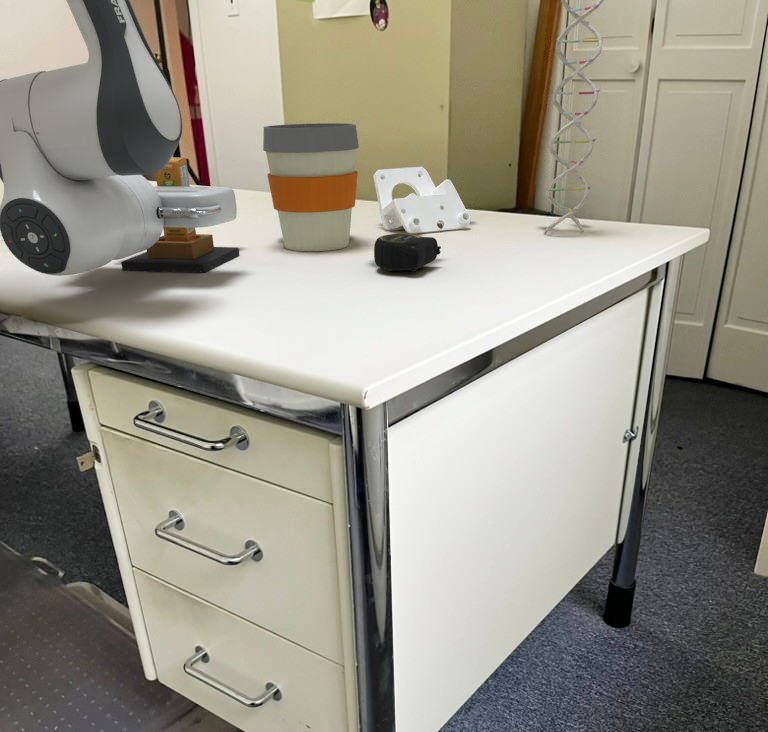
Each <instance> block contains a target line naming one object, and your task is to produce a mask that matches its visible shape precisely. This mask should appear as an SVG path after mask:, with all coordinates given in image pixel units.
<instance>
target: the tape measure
mask: <svg viewBox="0 0 768 732" xmlns="http://www.w3.org/2000/svg"><path fill="white" fill-rule="evenodd" d="M438 245H439V244H438V240H437V239H436V238H435V237H432V236H421V235H418V234H409V233H391V234H384V235H381V236H379V237H377V238H376V240H375V242H374V244H373V259H374V263H375V265H376V266H377V267H379V268H380V269H383V270H386V271H387V272H391V271H392V272H393V271H410V272H413V273H414V272H416V271H417V270H418V269H421V268H423V267H425V266H426V265H429V264H430V263H432V262H434V261H435V260H436V259H437V258H438V255H441V248H442V246H440V245H439V246H438Z"/></svg>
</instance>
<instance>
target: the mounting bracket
mask: <svg viewBox="0 0 768 732" xmlns="http://www.w3.org/2000/svg"><path fill="white" fill-rule="evenodd" d="M372 177H373V183H374V188H375V194H376V197H377V203H378V208H379V214H380V218H381V224H382V227H383V229H385V230H387V231H396V230H397V231H398V230H405V232H406V233H407V234H413V235H419V234H429V233H437V232H447V231H456V230H457V231H458V230H464V229H466V228H468V227H469V225H470V223H471V218H472V216H471V213H470V212H469V211H468V210H467V209H466V206H465V205H464V202H463V201H462V199H461V197H460V194H459V193H458V191H457V190H456V187H455V185H454V184H453V182H452V181H451V179H450V178H446V179H445V180H443V182H441V183H440V184H438V185H437V186H436V185H435V183H434V181H433V179H432V178H431V175H430V174H429V172H428V171H427V169H425V168H424V166H412V167H411V166H410V167H396V168H383V169H377V170H376V171H375V173H374V174H373V176H372ZM399 184H404V185H407V186H409V187H411V188H412V189H413V190H414V192H412V193H409V194H408V195H407V196H405V197H398V198H393V190H394V188H395V186H396V185H399ZM438 223H440V224H441V226H442V227H441V228H440V227H439V226H438Z"/></svg>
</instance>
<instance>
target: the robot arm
mask: <svg viewBox="0 0 768 732" xmlns="http://www.w3.org/2000/svg"><path fill="white" fill-rule="evenodd" d="M65 1H66V3H67V5H68V7H69V9H70V12H71V14H72V16H73V19H74V21H75V23H76V25H77V27H78V29H79V32H80V34H81V36H82V39H83V40H84V43H85V46H86V48H87V52H88V60H87V62H85V63H80V64H75V65H71V66H66V67H60V68H56V69H51V70H47V71H46V70H40V71H37V72H31V73H26V74H23V75H19V76H15V77H14V76H13V77H10V78H3V79H1V80H0V180H1V182H2V183H3V195H2V200H1V203H0V235H1V237H2V239H3V242H4V244H5V246H6V247H7V249H8V250H9V251H10V253H11V254H12V255H13V256H14V257H15V258H16V259H17V260H18V261H19V262H20V263H22V264H23V265H25V266H26V267H28V268H30V269H31V270H33V271H36V272H38V273H41V274H43V275H44V274H45V275H48V276H49V275H50V276H58V277H65V276H73V275H78V274H81V273H86V272H90V271H93V270H95V269H99V268H102V267H104V266H106V265H108V264H110V263H111V262H112V261H119V260H123V259H125V258H128V257H131V256H134V255H136V254H139V253H141V252H144V251H147V249H149V248H150V247H152V246H153V245H154V244H155V243H156V242H157V241H158V239H159V237H161V236H162V232H163V231H164V230H163V227H185V228H195V229H196V228H197V229H198V228H207V227H213V226H218V225H222V224H226V223H229V222H233V221H235V220H236V218H237V214H238V212H237V200H236V193H235V191H234V189H233V188H231V187H229V186H190V187H169V186H157V185H156V186H155V185H153V184H152V183H151V182H150V181H149V180H148V179H147V178H146V177H144V176H143V175H156V173H158V172H160V171H161V170H162V169H163V168H164V167H165V166H166V164H167V163H168V162H169V160H170V159H171V158H173V156H174V154H175V152H176V150H177V149H178V146H179V144H180V141H181V138H182V135H183V119H182V112H181V109H180V105H179V102H178V99H177V97H176V95H175V94H176V93H175V92H174V90H173V87H172V86H171V84H170V82H169V80H168V78H167V76H166V74H165V73H164V70H163V69H162V67H161V65H160V63H159V62H158V60H157V58H156V56H155V55H154V53H153V51H152V49H151V47H150V45H149V43H148V40H147V39H146V36H145V34H144V31H143V29H142V27H141V25H140V22H139V19H138V17H137V15H136V12H135V10H134V7H133V5H132V3H131V1H130V0H65Z"/></svg>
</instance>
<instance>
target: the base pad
mask: <svg viewBox="0 0 768 732" xmlns="http://www.w3.org/2000/svg"><path fill="white" fill-rule="evenodd" d="M196 237H197V238H196V239H193V240H191V241H188V242H185V241H165V237H164V235H160V237H159V239H158V241H157V242H156V243H155V244H154V245H153V246H152V247H150V248H149V249H147V250H146V252H143V253H141V254H138V255H135V256H132V257H130V258H128V259H125V260H122V261H120V264H121V271H137V272H138V271H140V272H165V273H166V272H167V273H168V272H169V273H197V274H198V273H199V274H201V273H202V274H204V273H206V272H209V271H211V270H213V269H215V268H217V267H218V266H220V265H223V264H225V263H227V262H229V261H231V260H233V259H235V258H237V257H239V256H240V247H234V246H232V247H231V246H230V247H229V246H214V238H213V234H210V233H209V234H207V233H206V234H204V233H203V234H202V233H196Z"/></svg>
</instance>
